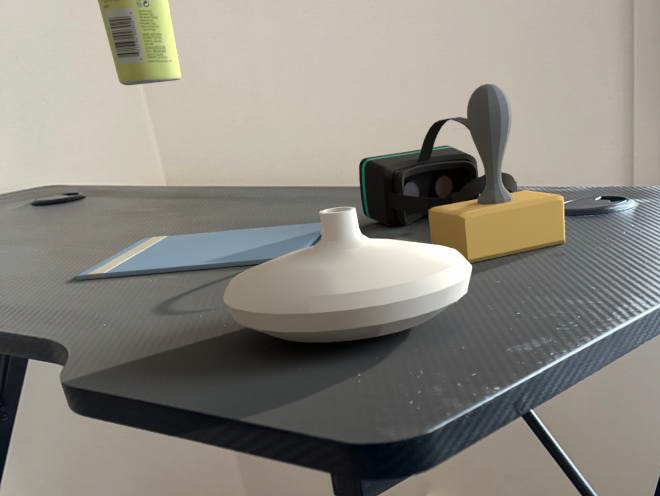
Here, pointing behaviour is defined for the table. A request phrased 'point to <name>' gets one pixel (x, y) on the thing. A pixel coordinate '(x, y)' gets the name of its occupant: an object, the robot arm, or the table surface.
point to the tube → (141, 40)
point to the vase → (347, 285)
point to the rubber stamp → (496, 195)
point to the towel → (206, 250)
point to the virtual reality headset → (420, 180)
